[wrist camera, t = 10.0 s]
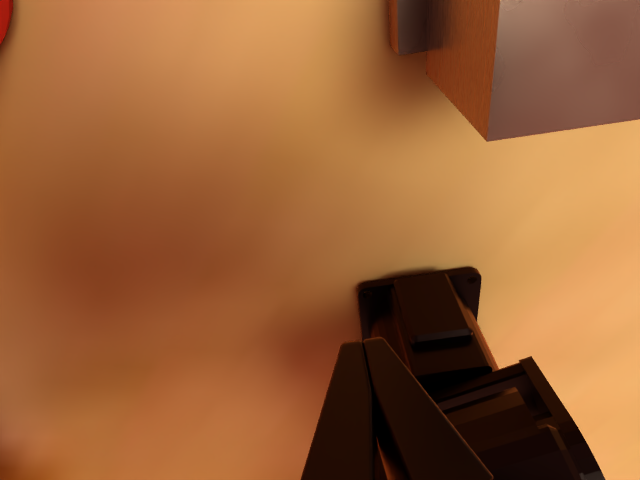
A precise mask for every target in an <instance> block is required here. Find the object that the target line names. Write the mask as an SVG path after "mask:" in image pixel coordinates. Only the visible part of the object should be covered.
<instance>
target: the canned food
mask: <svg viewBox="0 0 640 480" xmlns="http://www.w3.org/2000/svg"><path fill="white" fill-rule="evenodd" d="M12 9H13V0H0V45H1V43H2V41H3V39H4V37H5V35H6V32H7V30H8V28H9V23H10V19H11V14H12Z"/></svg>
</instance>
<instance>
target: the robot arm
mask: <svg viewBox="0 0 640 480" xmlns="http://www.w3.org/2000/svg"><path fill="white" fill-rule="evenodd" d="M471 276H473V277H472V278H470V279H468V278H469V277H471ZM480 288H481V275H480V273H479V271H478V270H477V269H475V268H465V269H458V270H451V271H444V272H437V273H430V274H423V275H416V276H409V277H401V278H394V279H387V280H380V281H373V282H366V283H362V284H361V285H359V286H358V288H357V297H358V306H359V316H360V325H361V334H362V341H360V340H355V341H348V342H343V343H342V345H341V347H340V350H339V354H338V357H337V360H336V364H335V367H334V370H333V374H332V377H331V380H330V384H329V387H328V390H327V394H326V397H325V400H324V404H323V407H322V410H321V414H320V417H319V420H318V423H317V427H316V430H315V433H314V437H313V440H312V443H311V447H310V450H309V453H308V457H307V460H306V463H305V467H304V470H303V473H302V477H301V480H605V478H604V476H603V474H602V472H601V469H600V467H599V465H598V464H597V462H596V460H595V458H594V456H593V454H592V452H591V450H590V448H589V446H588V444H587V443H586V441H585V439H584V437H583V436H582V434H581V432H580V430H579V429H578V427H577V425H576V424H575V422H574V421H573V419H572V417H571V416H570V414H569V413H568V411H567V410H566V408H565V407H564V405H563V404H562V402H561V401H560V399H559V398H558V396H557V395H556V393H555V392H554V390H553V389H552V387H551V386H550V384H549V382H548V381H547V379H546V378H545V376H544V375H543V373H542V372H541V370H540V369H539V367H538V366H537V364H536V363H535V361H534V360H533V358H532V357H531V356H530V357H527V358H524V359H522V360H519V363H516V364H513V365H510V366H507V367H505V368H502V369H499V368H498V366H497V364H496V362H495V359H494V357H493V355H492V353H491V351H490V349H489V347H488V345H487V343H486V341H485V338H484V336H483V334H482V332H481V330H480V328H479V326H478V324H477V315H478V306H479V297H480ZM366 291H370V292H369V293H364V292H366Z"/></svg>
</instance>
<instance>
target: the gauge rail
mask: <svg viewBox="0 0 640 480" xmlns="http://www.w3.org/2000/svg"><path fill="white" fill-rule="evenodd" d="M389 27H390V46H391V47H392V48H393V49H394V51H395V52H396V53H397V54H398V55H404V54H410V53H417V52H424V51H427V57H426V74H427V75H428V77H429V78H430V79H431V80H432V81H433V82H434V83H435V84H436V85H437V87H438V88H439V89H440V90H441V91H442V92H443V93H444V94H445V96H446V97H447V98H448V99H449V100H450V101H451V102H452V103H453V104H454V106H455V107H456V108H457V109H458V110H459V111H460V112H461V113H462V115H463V116H464V117H465V118H466V119H467V120H468V121H469V122H470V123H471V125H472V126H473V127H474V128H475V129H476V130H477V131H478V132H479V134H480V135H481V136H482V137H483V138H484V139H485V140H486V141H487V142H488V141H494V140H501V139H508V138H515V137H522V136H529V135H535V134H542V133H549V132H556V131H563V130H570V129H576V128H583V127H590V126H597V125H604V124H611V123H617V122H624V121H631V120H638V119H640V0H389Z"/></svg>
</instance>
